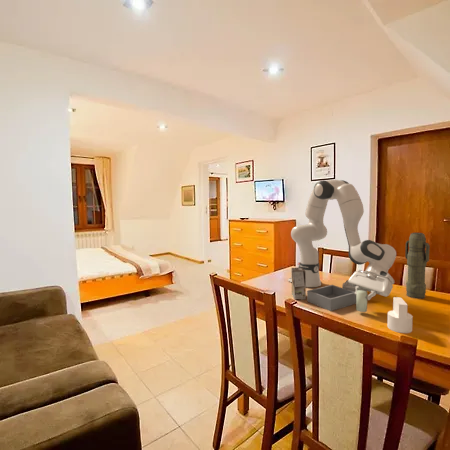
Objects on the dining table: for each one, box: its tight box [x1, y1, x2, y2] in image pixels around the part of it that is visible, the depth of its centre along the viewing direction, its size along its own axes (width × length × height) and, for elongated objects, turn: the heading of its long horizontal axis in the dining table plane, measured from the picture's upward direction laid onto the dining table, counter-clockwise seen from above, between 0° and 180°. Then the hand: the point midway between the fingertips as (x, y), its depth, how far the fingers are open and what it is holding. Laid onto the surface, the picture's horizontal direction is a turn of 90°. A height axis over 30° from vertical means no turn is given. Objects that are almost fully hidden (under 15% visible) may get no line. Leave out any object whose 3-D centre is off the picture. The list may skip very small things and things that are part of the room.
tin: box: [355, 290, 368, 313], centre depth 138 cm, size 5×5×9 cm
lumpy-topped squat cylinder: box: [341, 279, 368, 293], centre depth 161 cm, size 10×13×9 cm
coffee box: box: [290, 266, 307, 300], centre depth 163 cm, size 9×6×16 cm
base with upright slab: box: [386, 296, 414, 334], centre depth 122 cm, size 9×9×12 cm
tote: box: [306, 284, 356, 312], centre depth 154 cm, size 16×19×6 cm
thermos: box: [404, 232, 431, 300], centre depth 157 cm, size 9×12×35 cm
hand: (361, 297), depth 138 cm, fingers closed on tin, 5 cm apart
